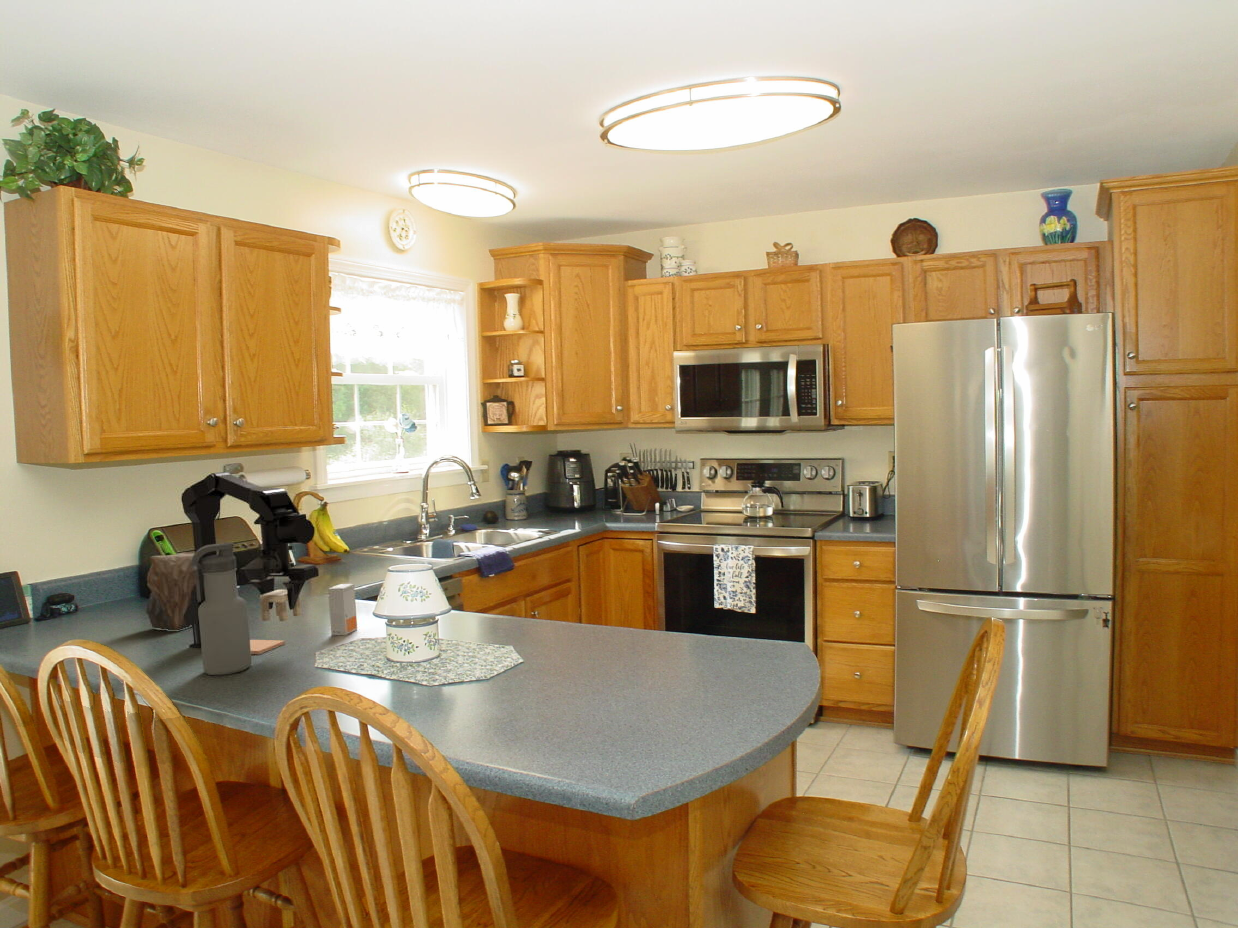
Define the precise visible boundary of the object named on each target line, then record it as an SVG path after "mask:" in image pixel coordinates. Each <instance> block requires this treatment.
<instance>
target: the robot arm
mask: <svg viewBox="0 0 1238 928" xmlns="http://www.w3.org/2000/svg"><path fill="white" fill-rule="evenodd" d="M226 496H229V497H232V498H235V499H237V500H238V501H239V500H240V501H242V502H244V503H247V505H248V507H249V509H250V510H252V512H254V513H256V514H257V515H258V517H257V518H256V519H255V520H254V521H253V524H254V525H260V535H261V545H262V546H261V549H258V551H257V558H255V559H253V560H252V561H250V562H249V563H248V564H246V565H245V566H244V567H240V569H238V571H237V580H238V582H247V583H248V584H249V585H252V586H253V587H255V588H257V590H258V592H259V593H260V595H263V594H266V593H269V592H272V591H275V579H276V578H275V577H277V578H281V577H282V578H283V577H286V578H288V580H286V581H283V582H282V584H283V585H284V587H285V588H286V590H287V594H288V600H287V602H288V603H287V604H288V608H289V610H291V611H293V609H294V607H295V605H296V602H297V599H298V597H299V598H300V593H301V591H302V590H303V587H304V585H305V583H306V582H307V581H309V580H311V579H314V578H316V577H319V576H320V575H319V574H320V573H319V572H320V571H319V568H318V566H317V565H316V564H300V565H297V566H295V562H291V557H290V551H292V550H293V549H294V548H293V544H294V545H299V544H300V545H307V544H309V543H310V542H311V541H313V539H314V537H315V531H316V529H315V526H314V524H313V523H312V521H310V519H308V518H307V514H306V513H300V512H299V510H298V508H297V507H296V505H295V504H294V502H293V501H292V499H291V497H290V495H289V494H288V492H287V490H286V489H284V488H281V487H280V488H279V487H274V486H273V487H272V486H260V485H257V484H255V483H252V482H250V481H247V480H244V479H242V478H240V477H238V476H235V475H232V474H231V473H230V472H227V471H221V472H220V471H219V472H211V473H210V474H207V476H206V477H204V478H203V479H202V480H200V481H197V482H196V483H194V484H192V485H190V486H189V487H186V488H185V489H184V491H183V492H182V493H181V500H180V501H181V503H182V508H183V509H182V510H183V513H184V515H185V516H186V517H187V519H189V521H190V523H191V525H192V526H191V527H192V534H193V535H192V537H193V548H194V549H193V550H194V553H195V552H196V551H197V550H198V549H200V548H201V547H204V546H206V545H212V544H217V538H216V537H217V536H216V523H215V521H216V518H217V516H218V515H219V513H220V511H221V500H222V499H224V498H225V497H226ZM289 544H290V545H289ZM291 544H292V545H291ZM213 555H218V551H211V552H208V553H205V554H204V555H202V556H201V557H200V559H199V560H198V564H200V563H201V560H202V559H204V558H206V557H209V556H213ZM202 572H203V571H201V569H199V570H198V576H199V585H200V596H201V602H198V601H197V592H196V584H195V586H194V588H193V590H192V592H191V603H190V605H189V607H188V608H187V610H186V612H185V613H184V615H183V617H184V620H185V623H186V624H192V627H191V628H192V636H193V637H192V638H193V643H191V644H189V645H188V646H189V647H188V648H202V647H201V636H200V625H199V614H198V609H199V607H200V605H201V604H202V603H203V602H204V601H205V589H204V578H203V574H202ZM273 607H274V602H269V610H272V609H273Z"/></svg>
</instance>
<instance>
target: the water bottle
mask: <svg viewBox="0 0 1238 928" xmlns="http://www.w3.org/2000/svg"><path fill="white" fill-rule="evenodd" d="M234 548H235V543H234V542H232V541H231V542H222V543H216V544H212V545H206V546H204V547H201V548H200V549H198V550H197V551H196V552H195V551H194V553H195V554H194V555H193V557H192V569H193V570H194V571H195V581H196V592H197V601H198V602H201V596H200V585H199V576H198V570H199V569H201V571H203V572H202V574H203V578H204V589H205V601H204V602H203V603H202V604H201V605H200V607H199V609H198V614H199V625H200V636H201V647H200V648H201V655H202V656H201V657H202V665H203V666H202V667H203V672H204V673H205V674H206V675H210V676H225V675H232V674H236V673H240V672H243V671H245V670H247V669H248V668H250V667H251V666H252V654H251V649H250V640H251V639H250V638H251V637H250V628H249V627H250V626H249V618H248V607H247V606H248V605H247V602H246V600H245V599H243V598H242V597H240V596H239V594H238V583H237V573H236V572H237V570H238V569H237V560H236V556H235V555H234ZM211 551H217V553H218V554H217V555H213V556H209V557H206V558H204V559H202V560H201V563H200V564H198V560H199V559H200V557H201V556H202V555H204V554H205V553H208V552H211Z"/></svg>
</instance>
